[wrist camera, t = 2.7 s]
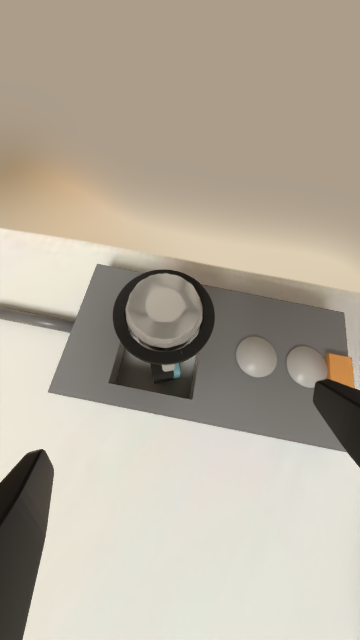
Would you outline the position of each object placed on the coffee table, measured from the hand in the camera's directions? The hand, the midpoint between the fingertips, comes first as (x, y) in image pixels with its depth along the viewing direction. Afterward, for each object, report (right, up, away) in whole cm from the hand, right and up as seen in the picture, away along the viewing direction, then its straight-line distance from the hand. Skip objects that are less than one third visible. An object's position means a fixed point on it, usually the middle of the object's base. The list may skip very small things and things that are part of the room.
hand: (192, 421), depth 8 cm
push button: (-2, +1, +13) cm, 14 cm away
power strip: (-2, +1, +13) cm, 13 cm away
